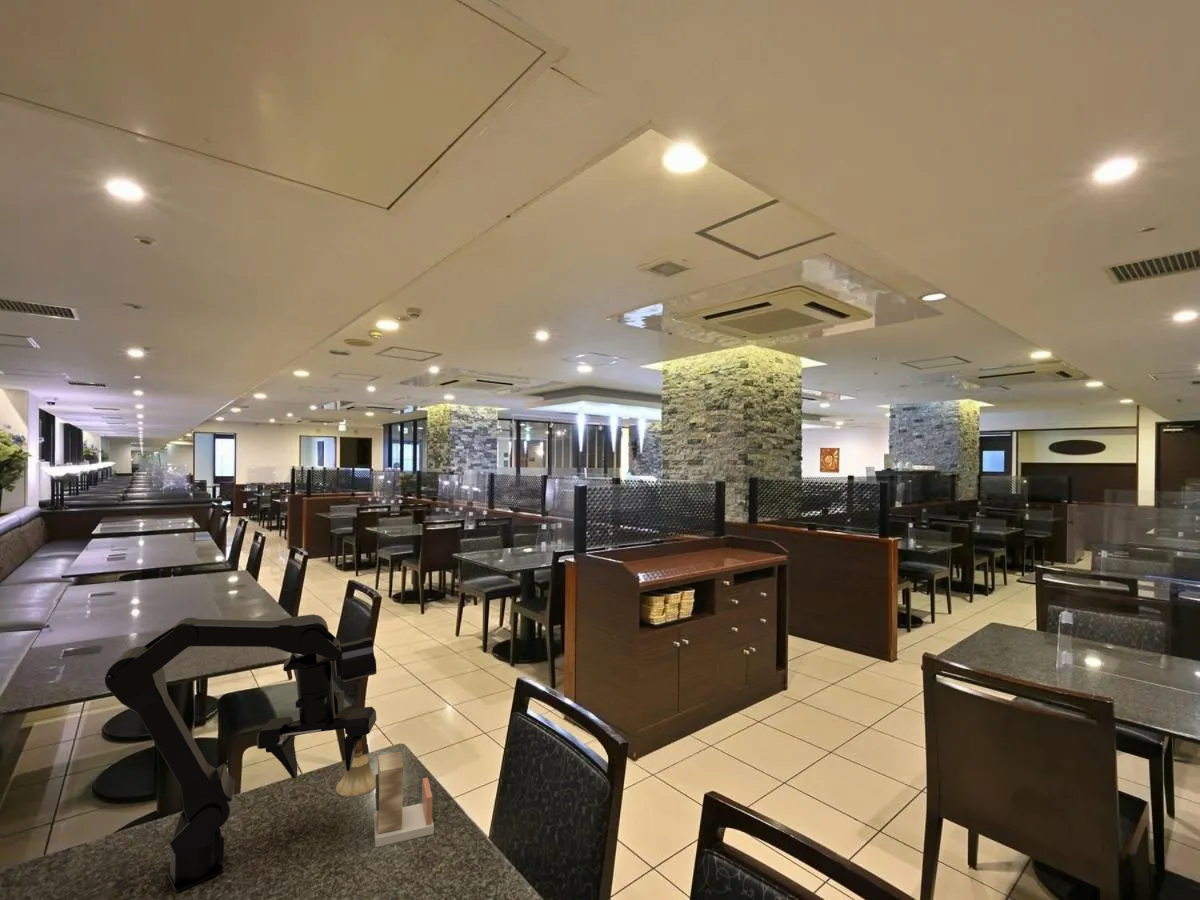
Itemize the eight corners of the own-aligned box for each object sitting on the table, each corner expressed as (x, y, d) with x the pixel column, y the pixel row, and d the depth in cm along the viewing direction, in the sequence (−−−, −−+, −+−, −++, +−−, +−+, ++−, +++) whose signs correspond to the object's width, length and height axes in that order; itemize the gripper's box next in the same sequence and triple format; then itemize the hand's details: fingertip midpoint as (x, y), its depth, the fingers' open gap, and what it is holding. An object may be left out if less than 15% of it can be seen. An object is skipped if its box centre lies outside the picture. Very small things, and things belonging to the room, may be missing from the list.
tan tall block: (375, 834, 103) (377, 771, 103) (374, 815, 109) (376, 755, 109) (401, 828, 105) (403, 766, 105) (399, 809, 110) (400, 751, 111)
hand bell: (363, 799, 116) (364, 719, 117) (326, 794, 118) (328, 715, 119) (386, 778, 125) (387, 703, 125) (351, 773, 126) (353, 699, 127)
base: (375, 847, 102) (376, 810, 102) (373, 821, 109) (374, 786, 110) (433, 833, 106) (434, 797, 106) (428, 809, 113) (429, 776, 114)
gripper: (380, 664, 113) (386, 743, 113) (278, 676, 110) (285, 756, 111) (364, 688, 102) (371, 775, 102) (251, 702, 99) (259, 791, 100)
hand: (322, 773), depth 104 cm, fingers open, 9 cm apart
